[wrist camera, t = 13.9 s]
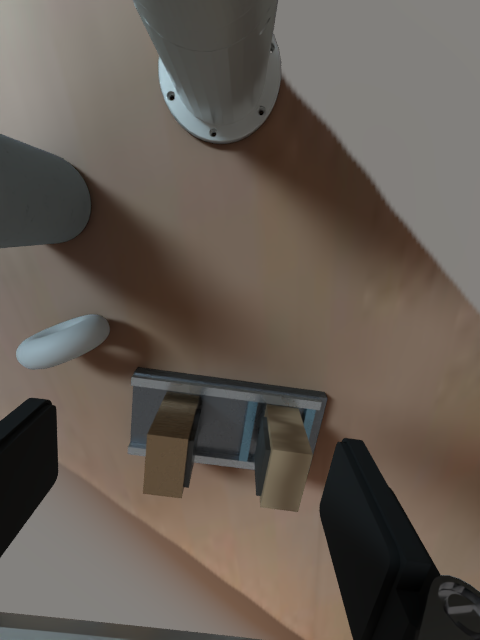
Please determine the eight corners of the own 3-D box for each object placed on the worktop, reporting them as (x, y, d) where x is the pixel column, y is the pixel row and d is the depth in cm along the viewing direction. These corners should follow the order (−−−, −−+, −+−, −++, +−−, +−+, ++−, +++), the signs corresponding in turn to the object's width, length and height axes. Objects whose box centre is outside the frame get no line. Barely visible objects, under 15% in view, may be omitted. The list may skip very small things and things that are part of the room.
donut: (58, 348, 42) (3, 385, 32) (46, 325, 41) (-14, 355, 31) (126, 328, 41) (91, 358, 31) (116, 303, 40) (76, 327, 30)
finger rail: (138, 367, 43) (105, 410, 32) (324, 392, 43) (349, 442, 33) (133, 442, 46) (103, 503, 36) (306, 464, 47) (324, 530, 37)
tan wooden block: (252, 452, 44) (255, 506, 36) (262, 403, 42) (267, 448, 34) (287, 456, 45) (297, 511, 36) (298, 408, 42) (312, 454, 34)
